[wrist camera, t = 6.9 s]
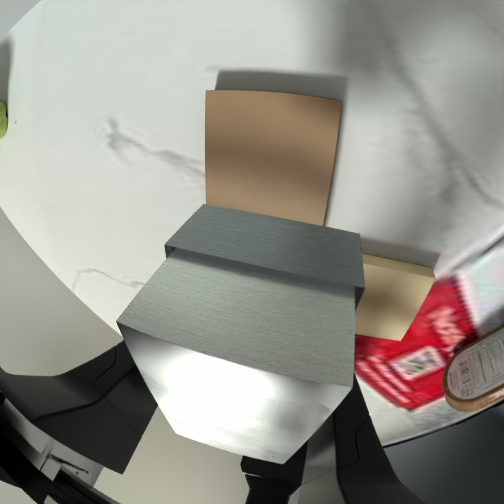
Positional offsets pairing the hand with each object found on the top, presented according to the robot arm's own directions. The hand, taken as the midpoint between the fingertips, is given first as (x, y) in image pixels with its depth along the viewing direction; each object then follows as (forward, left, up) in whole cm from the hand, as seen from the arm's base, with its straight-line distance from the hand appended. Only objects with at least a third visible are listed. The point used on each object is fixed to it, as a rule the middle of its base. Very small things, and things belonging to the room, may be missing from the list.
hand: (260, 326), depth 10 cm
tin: (-11, -26, -13) cm, 31 cm away
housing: (0, 0, -1) cm, 1 cm away
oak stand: (-8, -7, -13) cm, 17 cm away
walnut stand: (+2, +3, -13) cm, 13 cm away
